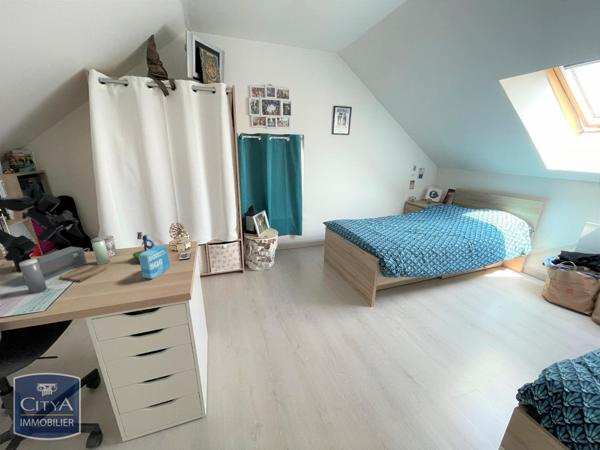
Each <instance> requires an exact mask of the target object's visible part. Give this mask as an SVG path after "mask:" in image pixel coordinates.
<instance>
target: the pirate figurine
mask: <svg viewBox="0 0 600 450" xmlns="http://www.w3.org/2000/svg"><path fill="white" fill-rule="evenodd" d="M136 233H137V238H136V239H137V240H142V243H141V245H139V248H142V247H143V249H142V250H139V251H136V252H133V254H132V256H133V258H134V259H136V260H139V255H140V254H141V253H143V252H145V251H147V250H149V249H151V248H153V247H155V243H154V242H153V240H152V239H150V238H149V239H148V234H143V232H142V231H139V232H136ZM148 242H149V243H150V244H151V245H150V244H148Z"/></svg>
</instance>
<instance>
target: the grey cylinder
mask: <svg viewBox="0 0 600 450" xmlns="http://www.w3.org/2000/svg"><path fill="white" fill-rule="evenodd" d="M19 266H20V268H21V271H22V272H21V274H22V275H23V279H24V281H25V283H26V287H27V289H28V292H29V294H31V295H34V294H40V293H42V292H44V291H46V290H47V289H48V287H47V284H46V281H45V280H44V278H43V275H42V272H41V269H40V266H39V263H38V261H37V259H36V258H31V259H30V260H25V261H22V262H20V263H19Z"/></svg>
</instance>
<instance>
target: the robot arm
mask: <svg viewBox="0 0 600 450" xmlns="http://www.w3.org/2000/svg"><path fill="white" fill-rule="evenodd" d="M60 203H61V200H60V199H59V198H58V197H57V196H54V195H51V194H48V193H46V192H44V193H40V194H39V196H38V198H31V197H30V196H28V195H23V196H22V195H20V196H12V197H2V196H1V197H0V208H3V209H6V210H9V211H14V212H22V213H21V214H22V217H21V218H22V219H23V220H26V219H28V218H30V219H31V220H33V221H34V222H36V223H38V227H39V228H42V227H44V230H42V232H40V233H39V234H38V235H37V237H38V239H39V240H40V241H41V242H47V243H48V242H51V243H56V244H62V245H67V246H71V244H72V243H71V241H70V240H68V239H67V238H65V237H64V236H63V235H62V234H61V232H60V231H62V230H64V231H66V233H69V234H71V235H74V236H76V237H79V238H81V239H83V238H84V234H83V233H82V232H81V231H80V229H79V228H78V224H79V220H78V219H77V218H76V217H73V212H71V211H70V210H68V209H66V210H64V211H62V212H61V214H58V215H57V214H51V212H52V211H53V210H54V209H55V208H57V206H58V205H60ZM26 210H27V211H26ZM23 211H25V212H23ZM0 244H1V245H2V246H3V248H4V250H5V251H6V252H7V253H6V254H5V255H4V257H3V258H4V259H5V260H6V261H7V262H11V261H12V262H13V264H14V267H15V268H12V269H11V271H14V272H19V273H22V271H21V268H20V266H19V263H20V262H22V261H25V260H30V259H32V257H31V254H34V253H35V249H36V243H35V242H34V241H33V239H31V238H28V237H27V236H25V235H24V234H23V235H22V234H21V235H19V236H15V235H13V234H11V233H9V232H6V231H5V230H3V229H1V228H0Z"/></svg>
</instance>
